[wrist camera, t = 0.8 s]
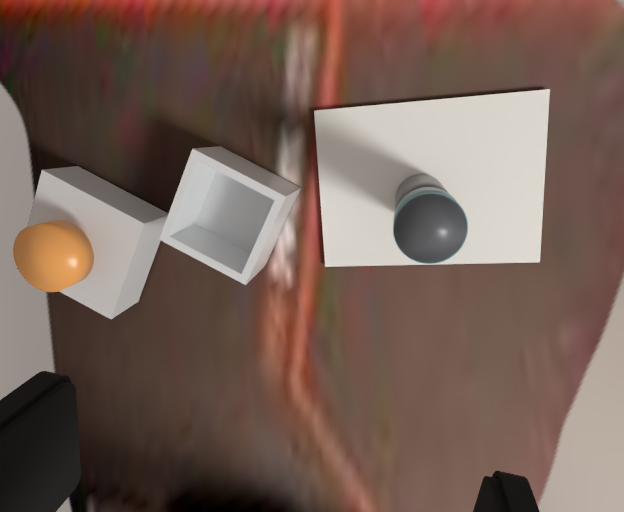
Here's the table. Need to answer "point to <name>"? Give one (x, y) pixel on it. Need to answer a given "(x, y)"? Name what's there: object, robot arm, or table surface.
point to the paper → (434, 174)
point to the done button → (53, 255)
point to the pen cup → (228, 212)
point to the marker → (428, 220)
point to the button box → (103, 234)
